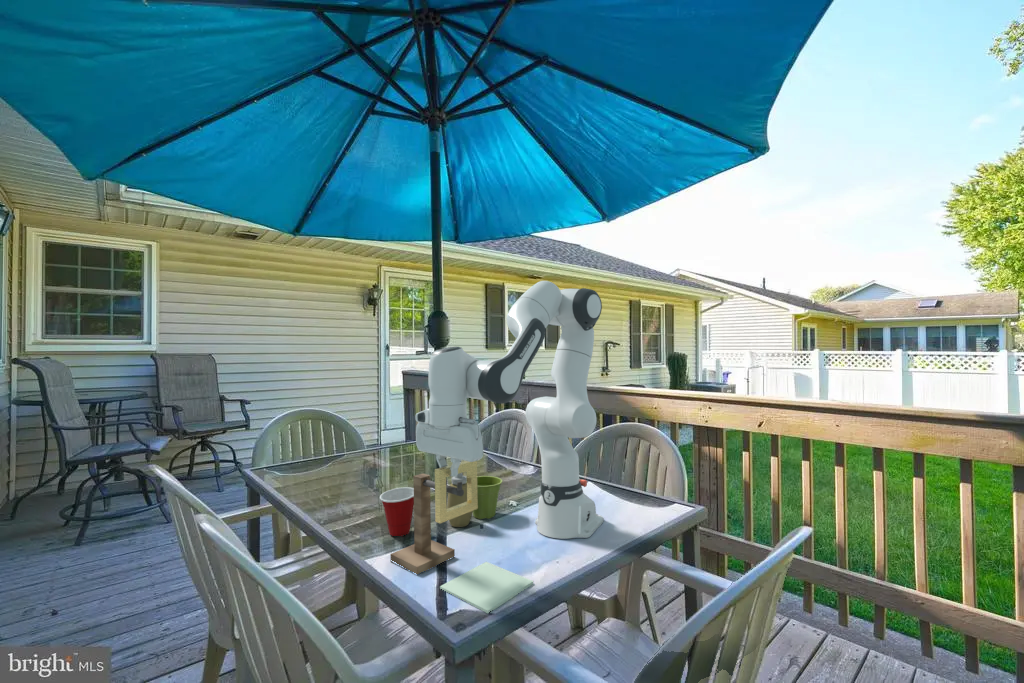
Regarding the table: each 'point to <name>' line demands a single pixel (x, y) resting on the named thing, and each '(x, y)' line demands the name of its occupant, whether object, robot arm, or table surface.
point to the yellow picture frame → (440, 492)
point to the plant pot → (487, 496)
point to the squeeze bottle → (459, 502)
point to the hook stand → (424, 531)
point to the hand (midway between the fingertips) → (448, 474)
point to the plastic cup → (398, 509)
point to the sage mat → (487, 586)
